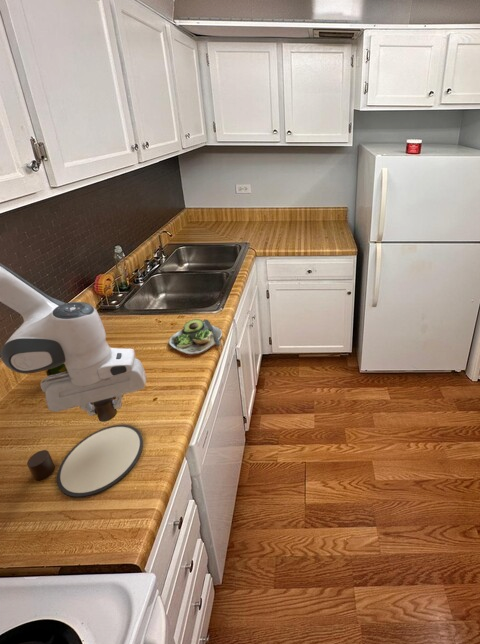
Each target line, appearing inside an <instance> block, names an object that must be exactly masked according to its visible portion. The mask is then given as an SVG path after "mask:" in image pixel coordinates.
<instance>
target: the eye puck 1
mask: <svg viewBox="0 0 480 644" xmlns="http://www.w3.org/2000/svg"><path fill="white" fill-rule="evenodd" d="M26 466H27V468H28V470H29V472H30V474H31V476H32V478H33V480H34V482H35V481H36V482H41V481H42V482H43V481H45V480H46V479H48V478H49V477H51V476H52V475H53V473H55V470H56V465H55V463H54V461H53V458H52V455H51V454H50V451H48V450H47V449H42V450H39V451H36V452H35V453H33V454H32V455H31V456H30V457H29V458H28V459H27V462H26Z"/></svg>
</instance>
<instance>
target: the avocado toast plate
mask: <svg viewBox="0 0 480 644" xmlns="http://www.w3.org/2000/svg"><path fill="white" fill-rule="evenodd" d="M222 335H223V332H222V329H221V328H219V327H217V326H214V325H213V324H211V322H210V321H209V319H206V318H205V319H203V320H202V319H201V318H194V319H193V318H192V319H191V320H189V321H188V322H186V323H184V325H183V327H182V329H181V330H179V331H177V332H176V333H174V334H173V335H171V336H170V338H169V340H168V344H169V347H170V348H171V349H173V350H174V351H178V352H180V353H183V354H186V355H198V354H203V353H205V352H208V350H210V349H211V348H212V347H213V346H221V345H222V342H221V340H220V339H221V338H222V337H223V336H222Z"/></svg>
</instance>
